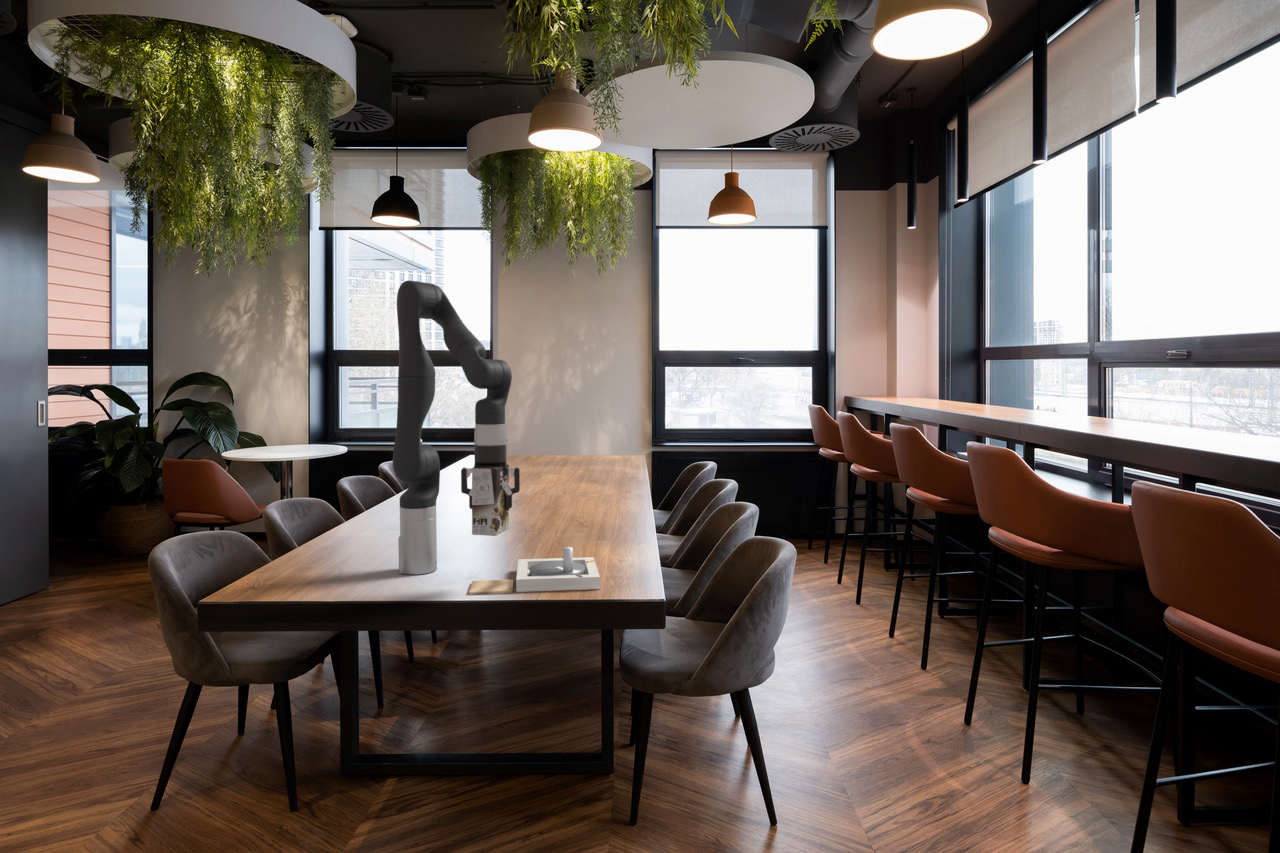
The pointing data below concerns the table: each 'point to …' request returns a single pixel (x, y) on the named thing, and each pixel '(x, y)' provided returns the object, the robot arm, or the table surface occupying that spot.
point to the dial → (558, 566)
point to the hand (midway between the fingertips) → (491, 510)
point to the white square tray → (557, 577)
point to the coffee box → (489, 501)
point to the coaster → (491, 587)
